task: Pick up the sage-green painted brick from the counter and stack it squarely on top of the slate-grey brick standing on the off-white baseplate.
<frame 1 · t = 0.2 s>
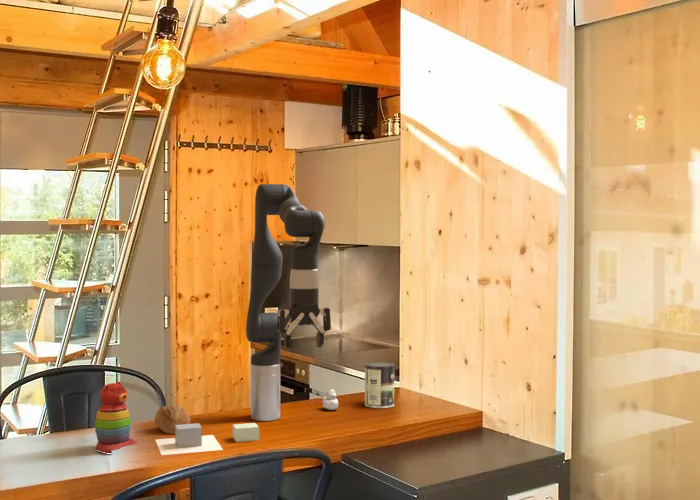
hand: (303, 347, 210), 29 cm above the table, fingers open, 8 cm apart
coffee can: (379, 405, 272), on the table
slate brick: (188, 444, 217), point 1 cm above the table, touching baseplate
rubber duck: (329, 410, 265), on the table
bread roll: (172, 433, 234), on the table
stacking bear: (114, 449, 217), on the table
baseplate: (188, 448, 217), on the table
sage brick: (245, 443, 223), on the table
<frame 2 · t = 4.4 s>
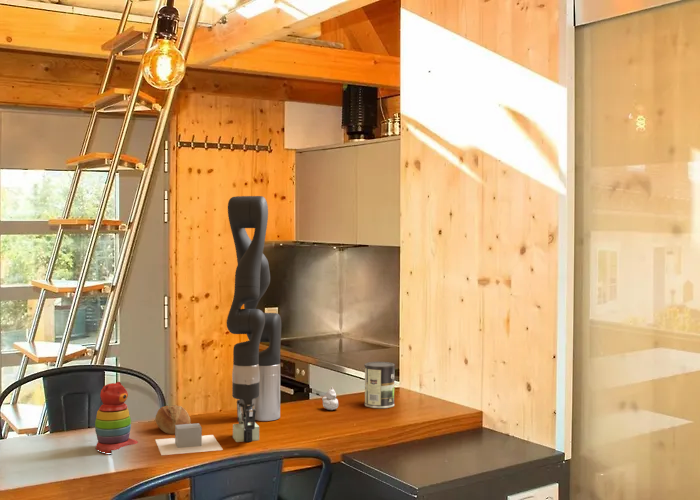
hand: (245, 440, 223), 1 cm above the table, fingers closed on sage brick, 5 cm apart
sage brick: (245, 443, 223), on the table, touching gripper
everything else where it was.
when the fingers open (7 cm above the table, at t = 10.2 s): sage brick stays where it is, resting on slate brick.
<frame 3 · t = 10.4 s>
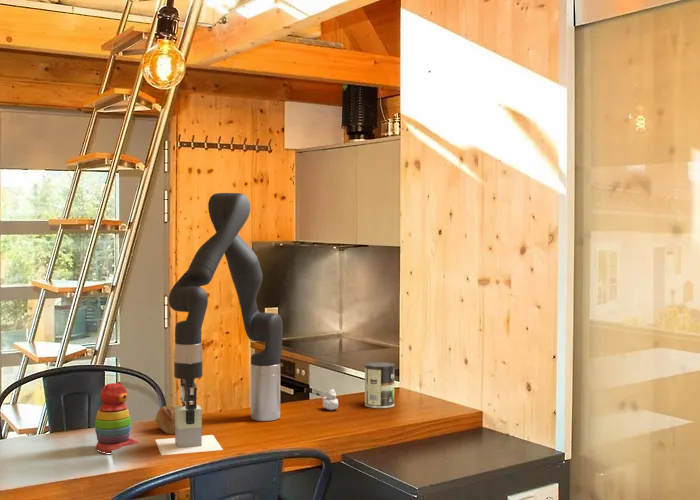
hand: (188, 420, 216), 8 cm above the table, fingers open, 6 cm apart
slate brick: (188, 444, 217), point 1 cm above the table, touching baseplate, sage brick
sage brick: (188, 426, 217), point 6 cm above the table, touching slate brick
everything else where it was.
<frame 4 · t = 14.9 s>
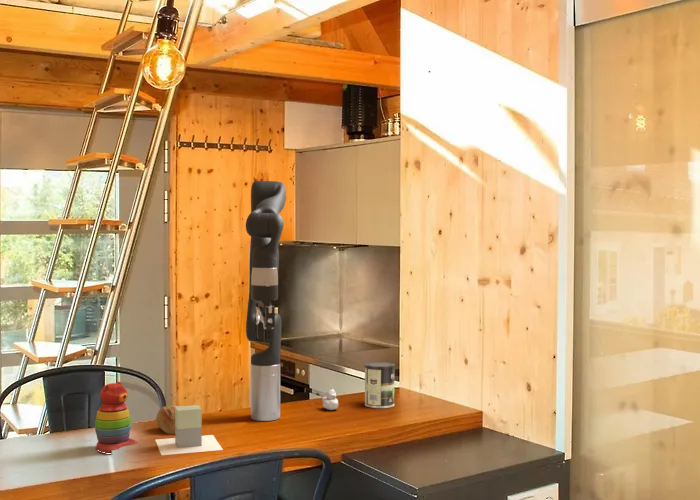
hand: (264, 340, 227), 28 cm above the table, fingers open, 8 cm apart
nothing on the table moved.
at the end: sage brick 0.1 cm off-centre on the slate brick, point 5.0 cm above the slate brick's base; sage brick tilted 0°; the gripper is holding nothing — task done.
